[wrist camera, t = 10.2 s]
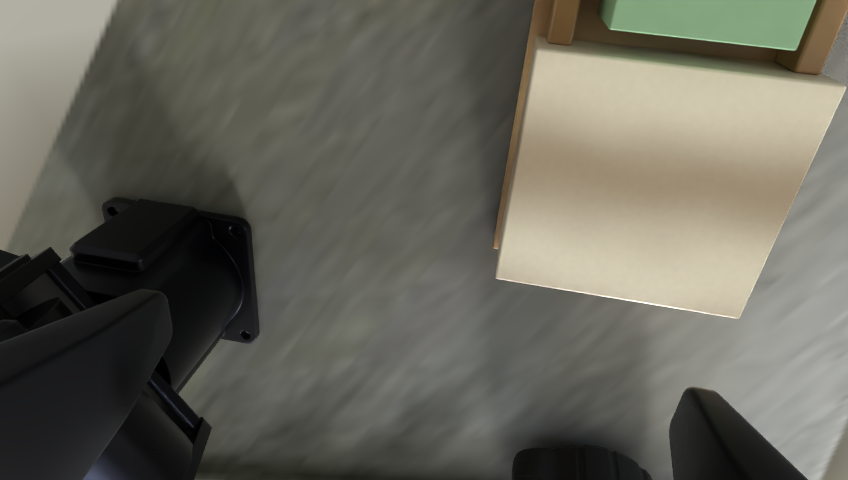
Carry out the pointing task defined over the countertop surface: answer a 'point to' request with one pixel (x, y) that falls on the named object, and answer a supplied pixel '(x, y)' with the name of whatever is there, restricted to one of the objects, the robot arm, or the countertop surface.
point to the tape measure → (575, 464)
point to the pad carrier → (657, 157)
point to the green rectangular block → (713, 20)
